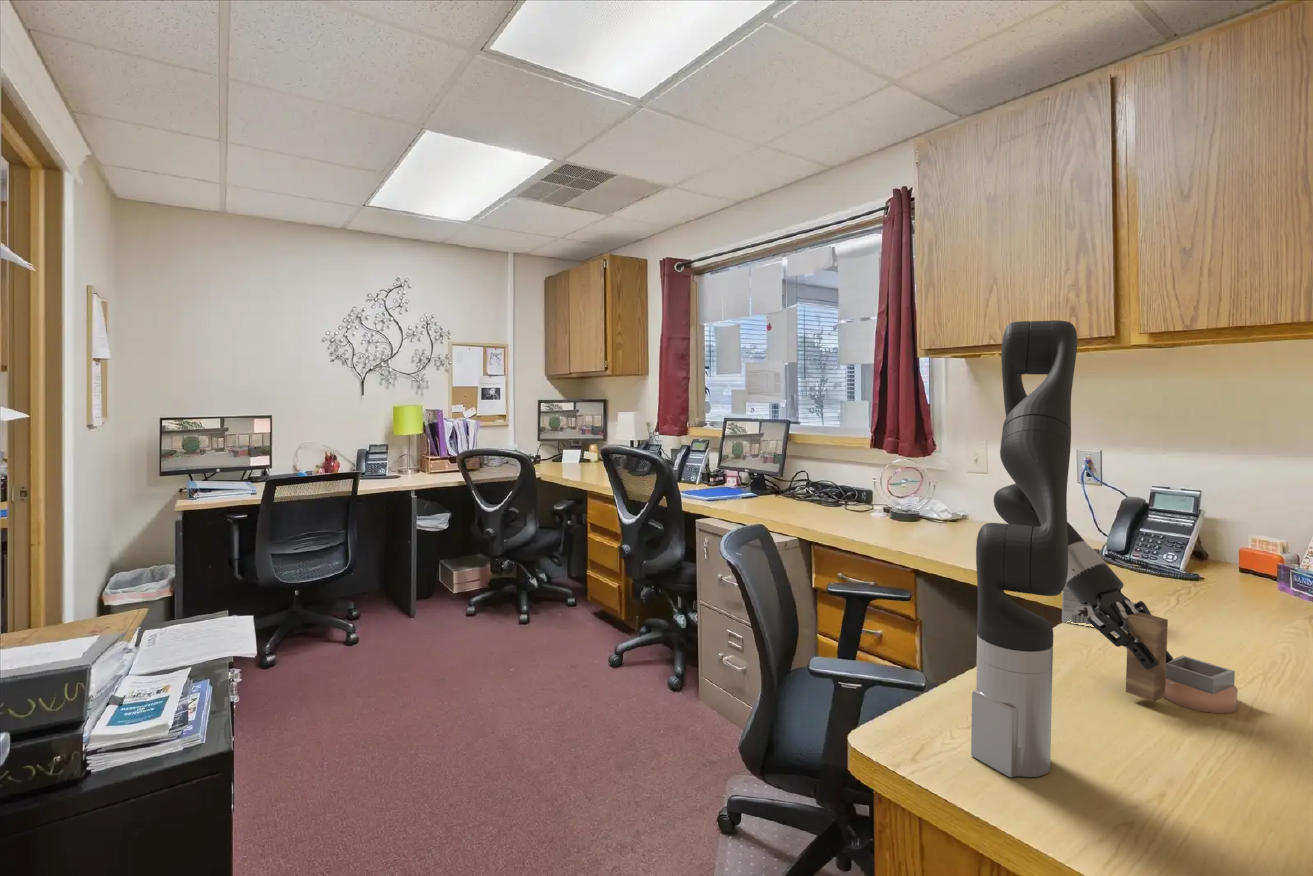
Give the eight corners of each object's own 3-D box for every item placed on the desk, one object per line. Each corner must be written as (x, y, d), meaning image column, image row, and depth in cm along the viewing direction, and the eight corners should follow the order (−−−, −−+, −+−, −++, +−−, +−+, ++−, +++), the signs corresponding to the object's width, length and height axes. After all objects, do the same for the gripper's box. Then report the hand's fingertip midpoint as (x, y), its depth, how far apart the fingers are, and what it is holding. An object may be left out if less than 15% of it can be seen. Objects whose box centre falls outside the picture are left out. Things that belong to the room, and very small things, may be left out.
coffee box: (1065, 611, 149) (1067, 544, 149) (1098, 617, 145) (1100, 548, 144) (1060, 622, 142) (1062, 552, 141) (1094, 628, 138) (1096, 556, 137)
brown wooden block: (1152, 701, 102) (1155, 622, 101) (1125, 691, 105) (1128, 615, 105) (1165, 697, 103) (1167, 619, 103) (1137, 687, 107) (1140, 612, 106)
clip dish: (1217, 718, 99) (1218, 684, 99) (1145, 692, 108) (1146, 661, 108) (1249, 705, 103) (1250, 672, 103) (1177, 681, 112) (1178, 651, 112)
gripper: (1075, 566, 107) (1155, 662, 97) (1124, 557, 113) (1204, 647, 103) (1044, 589, 112) (1116, 682, 102) (1092, 579, 118) (1165, 667, 108)
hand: (1160, 664), depth 102 cm, fingers closed on brown wooden block, 3 cm apart
